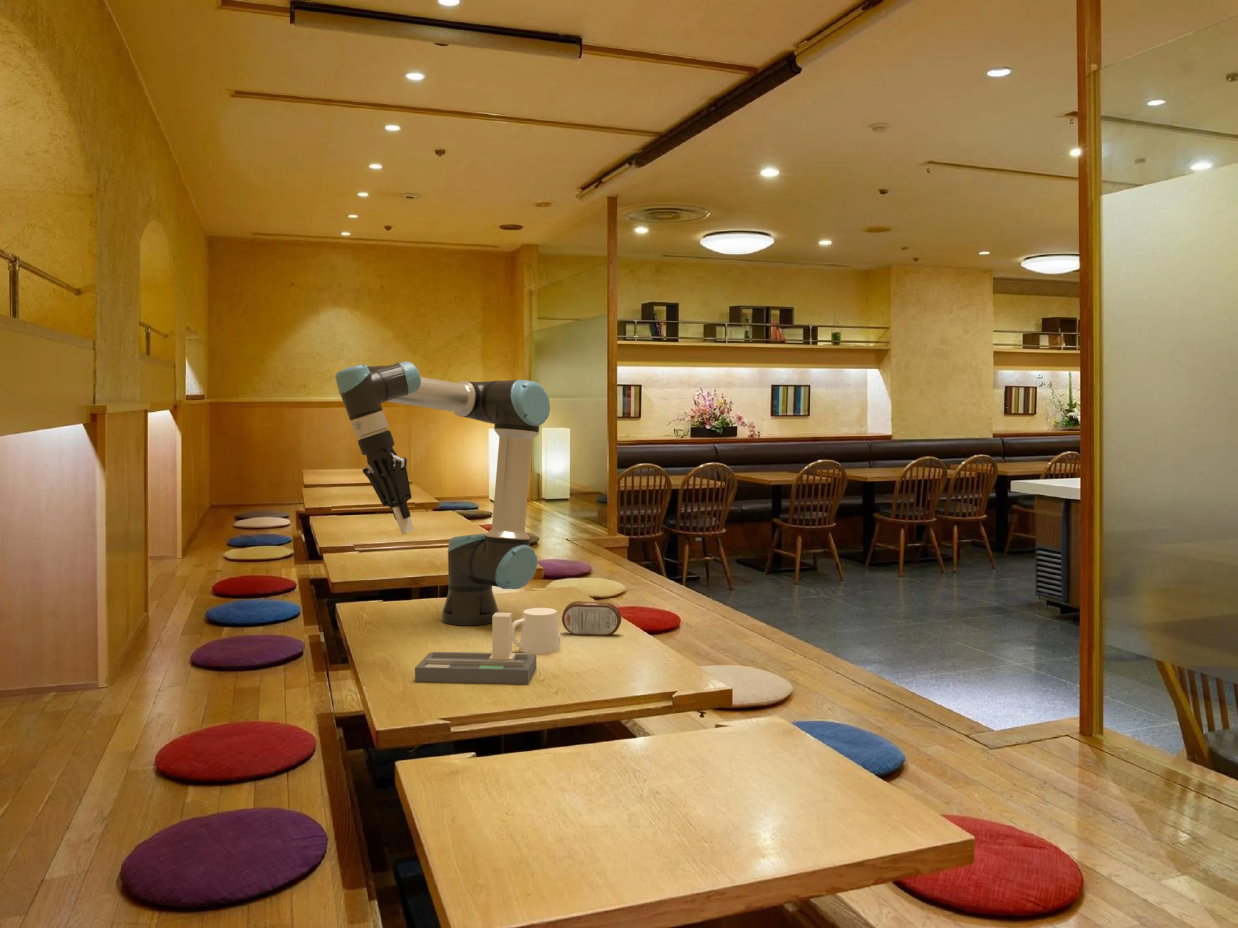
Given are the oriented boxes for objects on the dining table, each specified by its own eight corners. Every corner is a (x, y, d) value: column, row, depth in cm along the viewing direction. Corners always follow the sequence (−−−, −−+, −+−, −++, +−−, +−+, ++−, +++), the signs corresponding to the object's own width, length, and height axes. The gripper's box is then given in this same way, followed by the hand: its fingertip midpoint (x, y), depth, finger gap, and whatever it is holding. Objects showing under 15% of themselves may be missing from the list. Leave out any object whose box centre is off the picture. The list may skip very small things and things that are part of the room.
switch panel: (429, 665, 212) (429, 648, 212) (536, 668, 211) (536, 650, 210) (415, 681, 200) (414, 662, 200) (528, 684, 199) (528, 665, 198)
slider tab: (492, 657, 207) (492, 611, 206) (515, 657, 207) (515, 612, 206) (488, 662, 203) (488, 616, 202) (512, 663, 202) (512, 616, 202)
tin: (621, 634, 242) (621, 601, 241) (620, 637, 239) (620, 604, 238) (562, 632, 243) (563, 600, 243) (561, 635, 240) (561, 602, 239)
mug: (553, 606, 231) (564, 612, 224) (553, 643, 232) (564, 651, 225) (505, 610, 226) (516, 617, 219) (505, 649, 227) (516, 657, 220)
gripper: (342, 443, 213) (377, 541, 216) (379, 432, 205) (415, 534, 209) (367, 434, 219) (401, 530, 222) (404, 424, 211) (439, 523, 215)
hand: (408, 532), depth 216 cm, fingers closed
